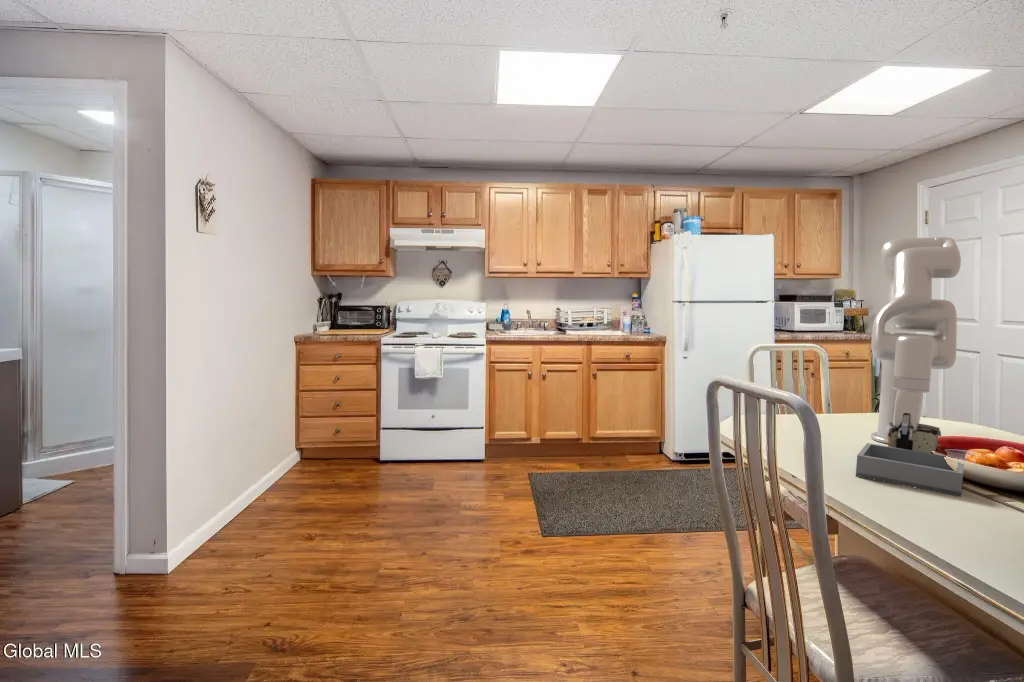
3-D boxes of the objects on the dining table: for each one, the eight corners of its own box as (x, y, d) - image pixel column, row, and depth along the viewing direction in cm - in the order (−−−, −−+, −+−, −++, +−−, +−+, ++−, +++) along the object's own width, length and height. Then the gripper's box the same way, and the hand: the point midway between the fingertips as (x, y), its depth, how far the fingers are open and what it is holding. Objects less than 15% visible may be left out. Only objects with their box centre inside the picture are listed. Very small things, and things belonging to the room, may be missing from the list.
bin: (865, 462, 139) (867, 443, 138) (962, 479, 127) (964, 458, 126) (855, 476, 127) (857, 455, 127) (960, 496, 115) (963, 473, 115)
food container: (922, 460, 142) (925, 422, 141) (938, 467, 136) (942, 428, 135) (872, 458, 143) (875, 420, 142) (885, 465, 137) (888, 425, 136)
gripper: (896, 379, 147) (891, 442, 148) (888, 386, 133) (883, 455, 135) (931, 382, 142) (926, 447, 143) (927, 390, 129) (921, 461, 130)
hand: (905, 451), depth 139 cm, fingers open, 9 cm apart
